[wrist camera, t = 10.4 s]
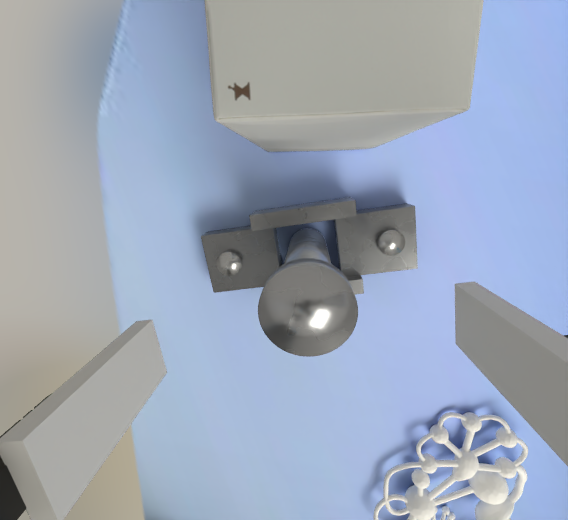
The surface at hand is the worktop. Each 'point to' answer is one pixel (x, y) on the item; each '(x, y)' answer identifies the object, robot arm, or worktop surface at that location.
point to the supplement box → (339, 69)
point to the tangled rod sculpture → (462, 474)
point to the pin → (307, 300)
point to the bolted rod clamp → (348, 222)
